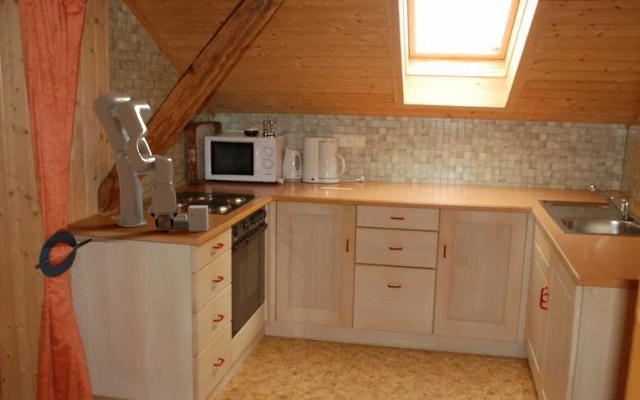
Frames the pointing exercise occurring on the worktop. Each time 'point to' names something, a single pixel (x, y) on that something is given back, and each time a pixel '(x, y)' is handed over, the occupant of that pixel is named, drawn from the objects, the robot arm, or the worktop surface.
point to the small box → (198, 218)
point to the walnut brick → (164, 222)
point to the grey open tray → (180, 222)
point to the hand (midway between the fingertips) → (164, 227)
